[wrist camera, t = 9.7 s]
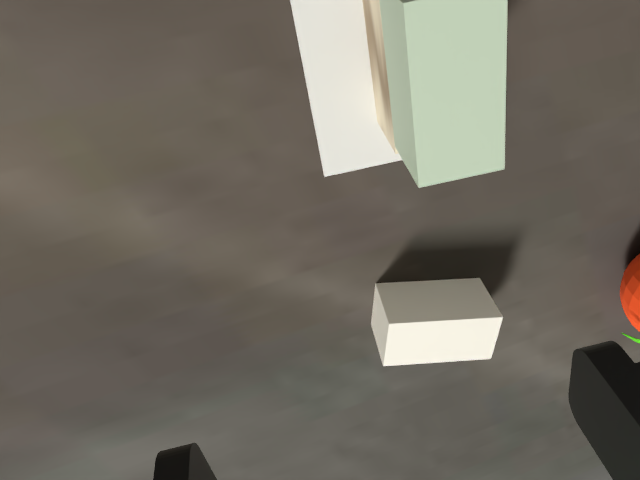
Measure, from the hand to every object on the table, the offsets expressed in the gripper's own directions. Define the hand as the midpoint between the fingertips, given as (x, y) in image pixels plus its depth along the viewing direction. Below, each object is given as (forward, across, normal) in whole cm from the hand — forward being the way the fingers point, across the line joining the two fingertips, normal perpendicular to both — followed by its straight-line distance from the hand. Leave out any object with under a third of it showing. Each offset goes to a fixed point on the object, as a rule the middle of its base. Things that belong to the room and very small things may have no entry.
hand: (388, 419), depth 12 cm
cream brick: (+20, -6, +16) cm, 26 cm away
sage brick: (+15, -6, -2) cm, 16 cm away
